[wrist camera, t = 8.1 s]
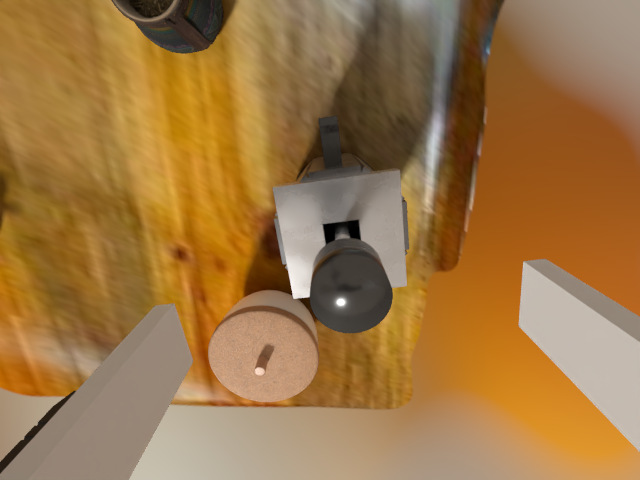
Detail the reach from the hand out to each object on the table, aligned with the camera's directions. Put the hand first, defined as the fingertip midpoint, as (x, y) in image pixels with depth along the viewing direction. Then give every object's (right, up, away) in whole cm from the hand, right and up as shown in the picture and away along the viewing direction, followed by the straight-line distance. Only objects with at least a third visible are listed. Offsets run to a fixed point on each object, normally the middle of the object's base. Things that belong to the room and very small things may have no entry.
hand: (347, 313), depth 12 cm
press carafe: (+1, +9, +21) cm, 23 cm away
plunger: (+1, +6, +19) cm, 20 cm away
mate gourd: (-13, +23, +17) cm, 31 cm away
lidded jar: (-6, -6, +26) cm, 28 cm away
